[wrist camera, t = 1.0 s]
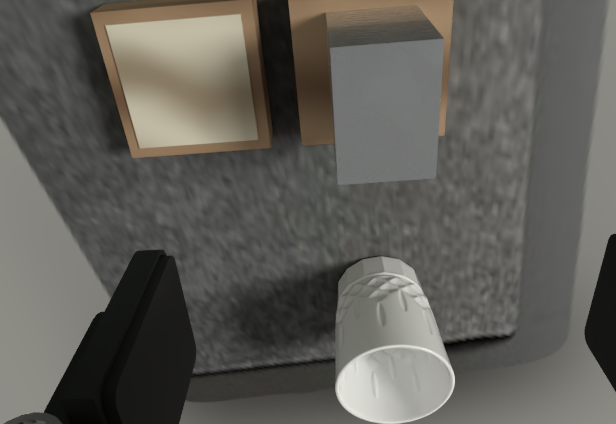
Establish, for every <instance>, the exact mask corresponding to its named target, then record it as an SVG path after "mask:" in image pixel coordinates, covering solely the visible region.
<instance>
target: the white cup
mask: <svg viewBox="0 0 616 424" xmlns="http://www.w3.org/2000/svg"><path fill="white" fill-rule="evenodd" d="M454 383H455V377H454V372H453V370H452V367H451V364H450V361H449V358H448V356H447V353H446V350H445V347H444V344H443V341H442V339H441V336H440V333H439V330H438V327H437V324H436V321H435V319H434V316H433V313H432V310H431V308H430V306H429V303H428V300H427V298H426V296H425V295H424V294H423V291H422V288H421V285H420V282H419V280H418V278H417V276H416V273H415V271H414V269H413V268H411V267H410V266H408V265H407V264H405V263H404V262H403V261H401V260H399V259H395V258H389V257H384V256H379V257H373V258H367V259H362V260H361V261H359V262H357V263H356V264H354V265H352V266H351V267H349V268H347V270H346V271H345V273H344V274H343V276H342V277H341V279H340V280H339V282H338V306H337V310H336V325H335V390H336V395H337V398H338V400H339V402H340V403H341V405H342V406H343V407H344V408H345V409H346V410H347V411H348V412H350V413H351V414H353V415H355V416H356V417H359V418H361V419H363V420H367V421H370V422H375V423H384V424H397V423H405V422H410V421H414V420H417V419H420V418H423V417H425V416H427V415H429V414H431V413H433V412H434V411H436V410H437V409H439V408H440V407H441V406H442V405H443V404H444V403H445V402H446V401H447V400H448V399H449V397H450V396H451V394H452V391H453V389H454Z"/></svg>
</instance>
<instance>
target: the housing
mask: <svg viewBox="0 0 616 424" xmlns="http://www.w3.org/2000/svg"><path fill="white" fill-rule="evenodd" d="M326 27H327V44H328V61H329V78H330V95H331V112H332V129H333V140H334V150H335V161H336V172H337V182H338V185H345V184H359V183H374V182H388V181H403V180H418V179H432V178H436V168H437V151H438V135H439V118H440V101H441V85H442V68H443V51H444V38H443V36H442V35H441V34H440V33H439V32H438V30H437V29H436V28H435V27H434V25H433V24H432V23H431V22H430V21H429V19H428V18H427V17H426V16H425V14H424V13H423V12H422V11H421V10H420V8H419V7H418V6H417V5H407V6H395V7H383V8H371V9H359V10H347V11H335V12H326Z"/></svg>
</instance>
